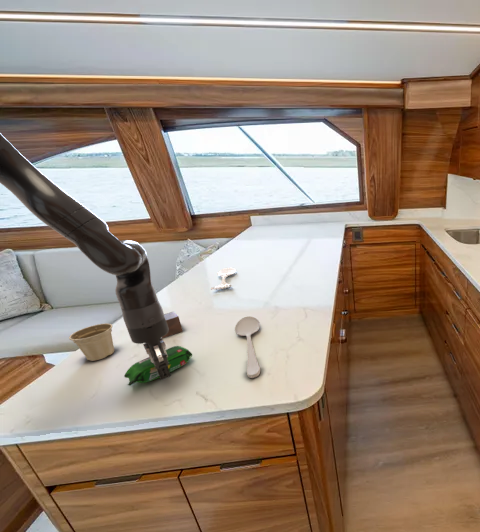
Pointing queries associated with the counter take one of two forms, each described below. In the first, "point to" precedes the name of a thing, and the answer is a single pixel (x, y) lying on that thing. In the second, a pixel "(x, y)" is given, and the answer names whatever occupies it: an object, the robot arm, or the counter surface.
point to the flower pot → (94, 341)
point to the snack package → (146, 368)
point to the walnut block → (172, 324)
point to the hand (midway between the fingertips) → (165, 376)
